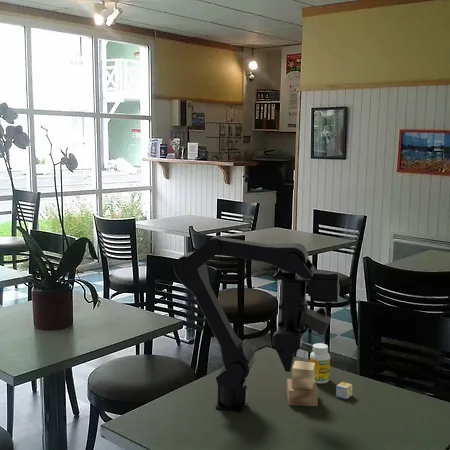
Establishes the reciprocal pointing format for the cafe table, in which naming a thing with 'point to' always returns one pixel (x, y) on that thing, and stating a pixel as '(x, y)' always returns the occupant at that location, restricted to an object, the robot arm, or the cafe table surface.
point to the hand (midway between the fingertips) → (290, 363)
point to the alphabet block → (344, 390)
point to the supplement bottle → (321, 362)
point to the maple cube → (303, 375)
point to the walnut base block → (302, 395)
